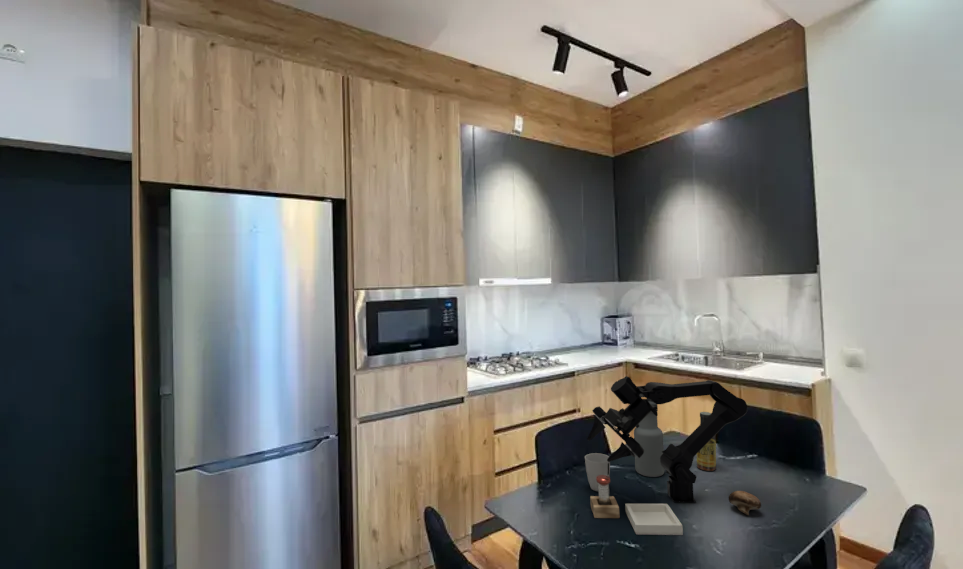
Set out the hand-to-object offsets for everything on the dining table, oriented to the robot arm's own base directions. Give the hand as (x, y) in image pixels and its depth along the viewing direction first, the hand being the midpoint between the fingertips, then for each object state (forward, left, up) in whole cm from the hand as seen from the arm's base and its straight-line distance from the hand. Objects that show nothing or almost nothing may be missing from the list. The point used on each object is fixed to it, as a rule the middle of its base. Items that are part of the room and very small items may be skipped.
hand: (597, 450), depth 135 cm
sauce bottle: (-43, -27, -17) cm, 53 cm away
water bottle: (-22, -24, -17) cm, 36 cm away
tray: (-13, +11, -16) cm, 23 cm away
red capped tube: (-1, +5, -16) cm, 17 cm away
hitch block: (-1, +5, -16) cm, 17 cm away
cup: (-2, -11, -17) cm, 20 cm away
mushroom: (-41, +4, -17) cm, 44 cm away
